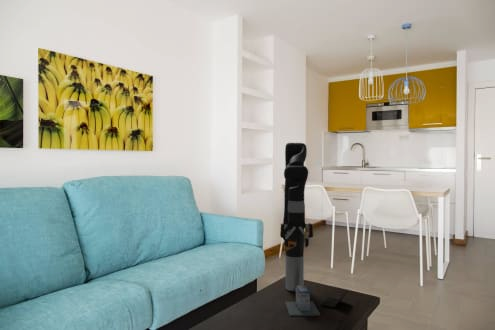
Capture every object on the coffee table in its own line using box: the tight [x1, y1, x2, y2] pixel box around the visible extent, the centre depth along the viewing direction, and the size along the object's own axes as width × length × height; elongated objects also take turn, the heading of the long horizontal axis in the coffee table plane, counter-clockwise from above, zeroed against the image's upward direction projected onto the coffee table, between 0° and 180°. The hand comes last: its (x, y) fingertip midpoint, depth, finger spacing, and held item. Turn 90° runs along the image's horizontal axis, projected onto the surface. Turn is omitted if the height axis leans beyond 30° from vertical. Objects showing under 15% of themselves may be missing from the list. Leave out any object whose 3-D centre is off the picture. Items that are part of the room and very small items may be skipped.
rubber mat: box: [284, 301, 321, 317], centre depth 160 cm, size 14×13×1 cm
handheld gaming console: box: [321, 290, 348, 310], centre depth 165 cm, size 12×7×10 cm
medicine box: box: [295, 285, 311, 311], centre depth 160 cm, size 8×4×9 cm, turn 6°
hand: (296, 247), depth 161 cm, fingers open, 8 cm apart
